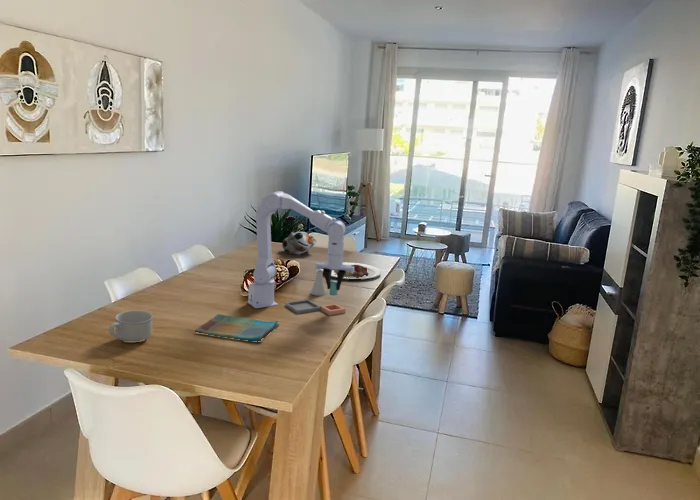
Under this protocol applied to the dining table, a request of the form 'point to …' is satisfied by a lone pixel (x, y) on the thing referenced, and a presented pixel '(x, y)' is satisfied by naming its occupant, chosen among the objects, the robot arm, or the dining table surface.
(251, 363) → the dining table surface
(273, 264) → the robot arm
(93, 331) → the dining table surface
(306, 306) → the tray
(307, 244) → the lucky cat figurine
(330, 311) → the salmon square dish
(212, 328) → the dish towel
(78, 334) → the dining table surface
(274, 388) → the dining table surface
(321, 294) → the flask
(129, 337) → the teacup
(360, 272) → the plated food
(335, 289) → the pin
